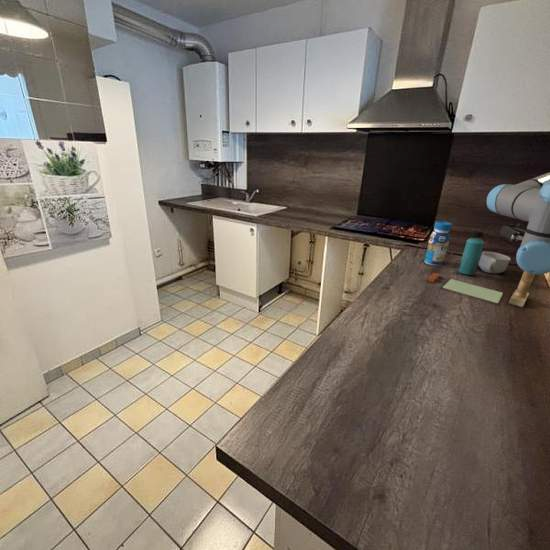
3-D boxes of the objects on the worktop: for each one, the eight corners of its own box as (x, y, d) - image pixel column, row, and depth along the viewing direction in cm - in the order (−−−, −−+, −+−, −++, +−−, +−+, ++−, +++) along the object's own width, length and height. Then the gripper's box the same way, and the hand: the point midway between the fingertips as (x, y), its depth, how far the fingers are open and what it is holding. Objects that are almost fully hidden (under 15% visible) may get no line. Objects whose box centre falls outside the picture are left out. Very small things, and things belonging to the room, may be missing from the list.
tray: (502, 295, 111) (503, 292, 110) (497, 305, 103) (498, 303, 102) (450, 281, 122) (450, 278, 122) (441, 289, 114) (442, 287, 113)
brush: (526, 300, 107) (542, 262, 101) (521, 309, 100) (538, 269, 95) (513, 296, 110) (527, 259, 104) (507, 305, 103) (523, 265, 97)
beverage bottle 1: (426, 259, 147) (436, 220, 139) (444, 263, 142) (455, 222, 134) (421, 263, 141) (431, 222, 133) (440, 267, 136) (451, 225, 128)
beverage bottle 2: (476, 279, 125) (491, 233, 117) (460, 277, 126) (473, 232, 118) (470, 273, 131) (483, 229, 123) (454, 272, 132) (466, 228, 124)
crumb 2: (439, 279, 123) (440, 274, 122) (437, 281, 121) (438, 275, 120) (432, 278, 125) (434, 272, 124) (430, 279, 123) (432, 274, 122)
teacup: (481, 265, 141) (486, 249, 137) (508, 272, 133) (514, 255, 130) (470, 271, 132) (475, 255, 129) (498, 279, 125) (504, 262, 122)
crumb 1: (436, 277, 119) (430, 275, 121) (434, 278, 117) (428, 276, 119) (435, 282, 120) (429, 280, 122) (433, 284, 118) (426, 282, 120)
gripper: (479, 248, 82) (492, 235, 97) (606, 273, 67) (599, 253, 81) (487, 222, 79) (500, 213, 94) (622, 241, 64) (612, 227, 78)
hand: (546, 231), depth 87 cm, fingers open, 13 cm apart
